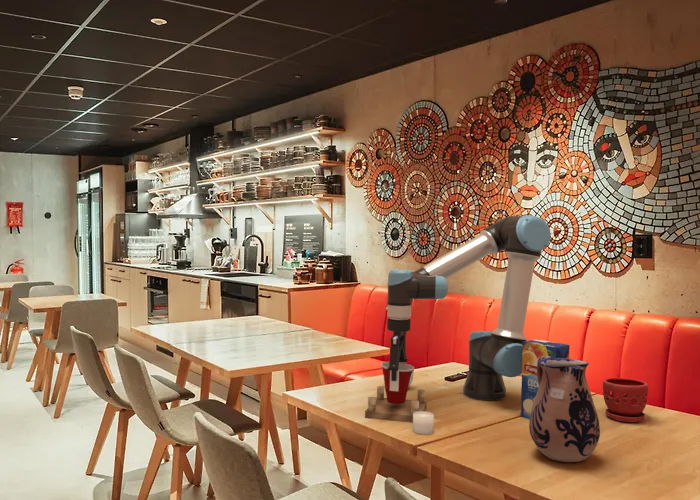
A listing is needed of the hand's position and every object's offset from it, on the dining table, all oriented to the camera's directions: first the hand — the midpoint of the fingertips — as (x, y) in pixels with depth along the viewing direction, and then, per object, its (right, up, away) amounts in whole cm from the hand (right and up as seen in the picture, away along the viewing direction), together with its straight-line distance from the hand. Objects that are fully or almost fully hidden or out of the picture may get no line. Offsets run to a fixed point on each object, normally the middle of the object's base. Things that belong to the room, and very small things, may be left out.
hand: (397, 386), depth 197 cm
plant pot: (+72, -10, -1) cm, 73 cm away
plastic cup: (0, -5, 0) cm, 5 cm away
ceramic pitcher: (+40, -11, -34) cm, 54 cm away
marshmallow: (+6, -9, -17) cm, 21 cm away
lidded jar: (+3, -8, +31) cm, 32 cm away
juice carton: (+46, -10, -4) cm, 47 cm away
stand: (0, -8, 0) cm, 8 cm away
